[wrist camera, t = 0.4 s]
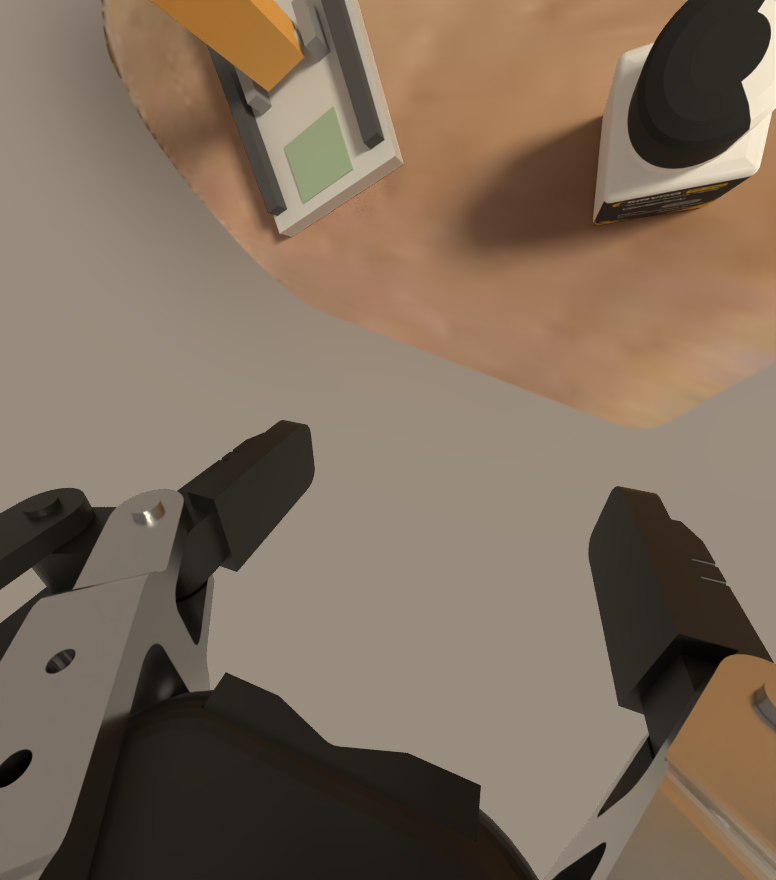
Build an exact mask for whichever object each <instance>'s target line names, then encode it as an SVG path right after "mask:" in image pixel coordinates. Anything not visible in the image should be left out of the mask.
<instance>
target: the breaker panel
mask: <svg viewBox="0 0 776 880" xmlns="http://www.w3.org/2000/svg"><path fill="white" fill-rule="evenodd" d="M274 1H275V2H276V3H277V4H278V6H279V7H280V8H281V9H282V10H283V11H284V12H285V13H286V14H287V16H288V17H289V18H290V19H291V20H292V21H293V22H294V24H295V27H296V28H297V29H298V30H299V31H300V33H301V36H302V39H303V42H304V45H305V47H306V48H305V49H304V50H303V53H304V56H305V57H304V58H303V59H302V60H301V61H300V62H299V63H298V64H297V65H296V66H295V67H294V68H293V69H292V70H291V71H290V72H289V73H288V74H287V75H285V76H284V77H283V78H282V79H281V80H280V81H279V82H278V83H277V84H276V85H275V86H274V87H273V88H272V89H271V90H270V91H269V92H268V91H267V90H265V89H264V88H263V87H262V86H260V85H259V84H258V83H256V82H255V81H254V80H252V79H251V78H250V77H249V76H247V75H246V74H245V73H243V72H242V71H241V70H240V69H238V68H237V67H236V66H234V67H235V70H236V72H237V75H238V78H239V81H240V84H241V87H242V89H243V92H244V95H245V98H246V101H247V104H249V105H250V106H251V107H252V110H253V113H254V116H255V119H256V121H257V124H258V127H259V130H260V133H261V136H262V139H263V141H264V144H265V147H266V150H267V153H268V156H269V158H270V161H271V164H272V167H273V170H274V173H275V175H276V178H277V181H278V184H279V187H280V190H281V192H282V195H283V198H284V201H285V204H286V207H287V210H286V211H284V212H283V213H281V214H280V215H278V216H276V215H273V216H274V219H275V222H276V224H277V227H278V230H279V233H280V234H283V235H287V236H290V237H293V236H294V235H296V234H297V233H299V232H300V231H302V230H304V229H305V228H307V227H308V226H310V225H311V224H313V223H314V222H316V221H317V220H319V219H320V218H322V217H324V216H325V215H327V214H328V213H330V212H331V211H333V210H334V209H336V208H337V207H339V206H340V205H342V204H344V203H345V202H347V201H348V200H350V199H351V198H353V197H354V196H356V195H357V194H359V193H360V192H362V191H363V190H365V189H367V188H368V187H370V186H371V185H373V184H374V183H376V182H377V181H379V180H380V179H382V178H383V177H385V176H387V175H388V174H390V173H391V172H393V171H394V170H396V169H397V168H399V167H400V166H402V165H403V164H404V163H403V160H402V156H401V152H400V149H399V145H398V142H397V138H396V135H395V131H394V127H393V124H392V120H391V117H390V113H389V110H388V106H387V102H386V99H385V95H384V92H383V88H382V85H381V81H380V77H379V74H378V70H377V67H376V63H375V60H374V56H373V52H372V49H371V45H370V42H369V38H368V35H367V31H366V27H365V24H364V20H363V17H362V13H361V10H360V6H359V2H358V0H345V3H346V7H347V10H348V14H349V17H350V21H351V24H352V28H353V31H354V35H355V38H356V41H357V45H358V48H359V52H360V55H361V59H362V62H363V66H364V69H365V73H366V76H367V80H368V83H369V87H370V90H371V94H372V97H373V101H374V104H375V108H376V111H377V115H378V118H379V122H380V125H381V129H382V132H383V136H384V139H385V140H384V141H382V142H381V143H380V144H378V145H377V146H375V147H374V148H373V149H370V148H369V147H368V146H366V145H365V144H364V143H363V139H362V136H361V133H360V129H359V126H358V123H357V119H356V116H355V113H354V109H353V106H352V103H351V99H350V96H349V93H348V89H347V86H346V82H345V79H344V76H343V72H342V69H341V66H340V62H339V59H338V56H337V52H336V49H335V46H334V42H333V39H332V36H331V32H330V29H329V26H328V22H327V19H326V15H325V12H324V9H323V5H322V2H321V0H274Z"/></svg>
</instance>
